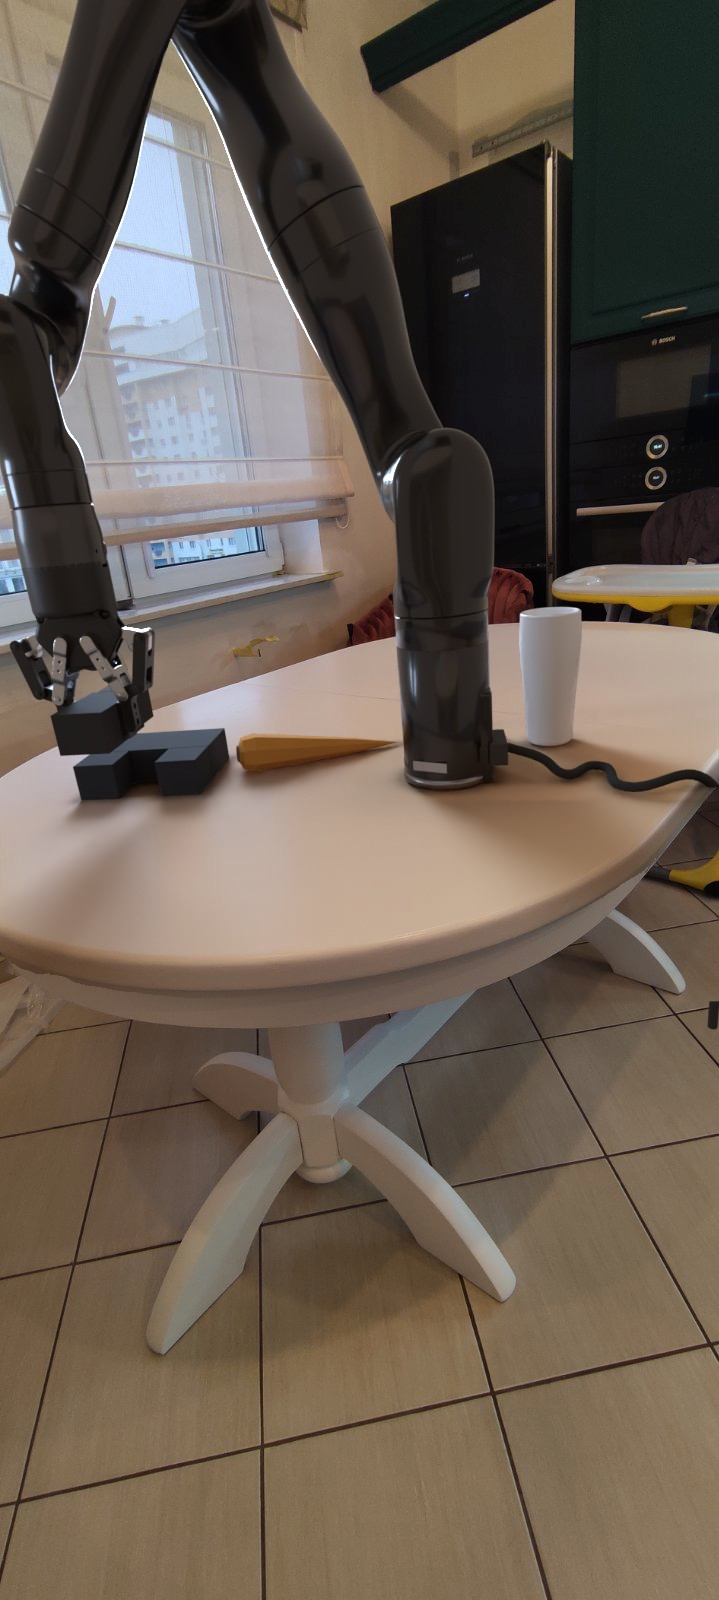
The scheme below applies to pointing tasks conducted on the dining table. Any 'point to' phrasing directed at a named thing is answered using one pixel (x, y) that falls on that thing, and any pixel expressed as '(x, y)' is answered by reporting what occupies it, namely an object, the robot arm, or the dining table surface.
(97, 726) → the black rectangular block
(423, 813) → the dining table surface
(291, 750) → the carrot
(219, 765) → the dark grey u-shaped block
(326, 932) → the dining table surface
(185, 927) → the dining table surface
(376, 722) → the dining table surface
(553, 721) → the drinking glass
